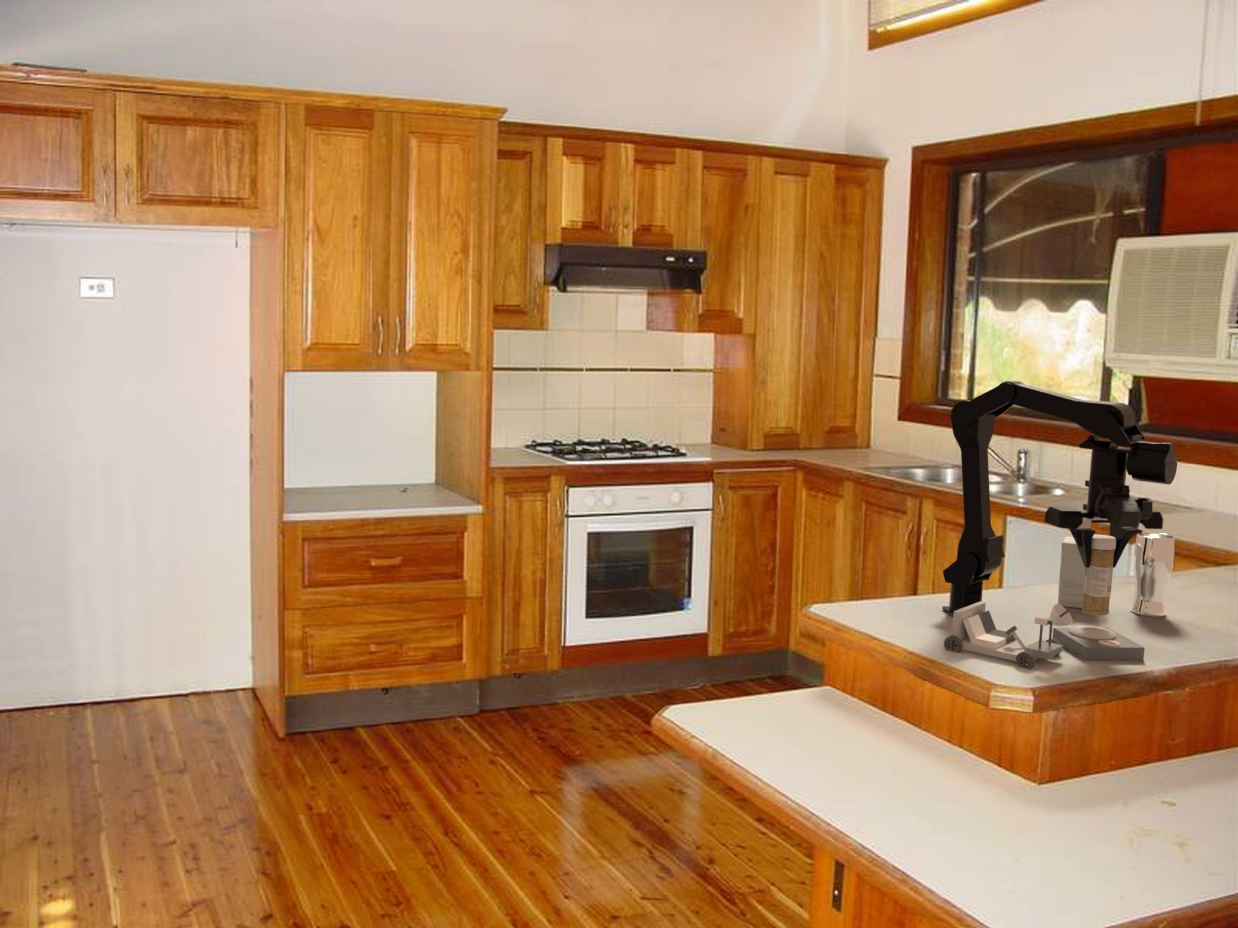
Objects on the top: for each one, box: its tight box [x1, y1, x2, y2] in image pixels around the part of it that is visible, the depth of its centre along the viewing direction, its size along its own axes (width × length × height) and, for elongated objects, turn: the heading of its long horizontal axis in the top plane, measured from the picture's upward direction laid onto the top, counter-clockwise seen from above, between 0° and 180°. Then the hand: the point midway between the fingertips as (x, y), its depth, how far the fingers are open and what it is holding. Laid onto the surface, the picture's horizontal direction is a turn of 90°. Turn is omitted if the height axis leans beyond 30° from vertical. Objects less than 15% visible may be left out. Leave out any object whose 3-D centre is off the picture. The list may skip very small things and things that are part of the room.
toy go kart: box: [943, 601, 1073, 670], centre depth 206 cm, size 18×10×12 cm
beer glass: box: [1130, 531, 1175, 618], centre depth 237 cm, size 7×7×15 cm
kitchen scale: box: [1051, 625, 1146, 662], centre depth 210 cm, size 12×10×3 cm
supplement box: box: [1057, 536, 1086, 609], centre depth 242 cm, size 7×7×13 cm
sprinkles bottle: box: [1081, 533, 1116, 616], centre depth 214 cm, size 5×5×13 cm
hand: (1099, 567), depth 214 cm, fingers closed on sprinkles bottle, 4 cm apart
